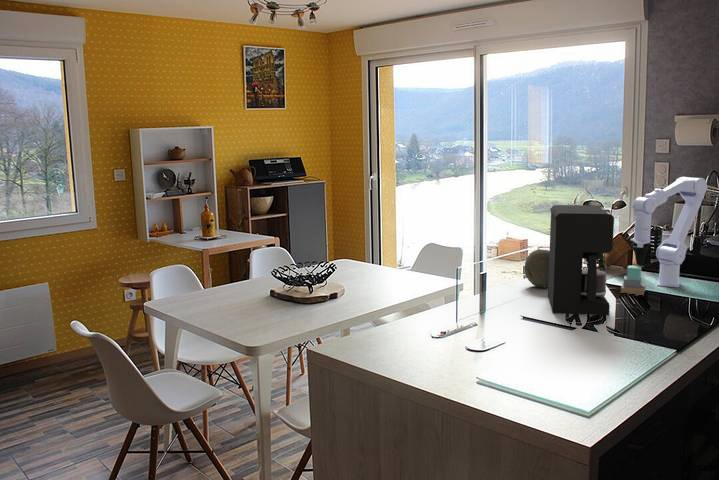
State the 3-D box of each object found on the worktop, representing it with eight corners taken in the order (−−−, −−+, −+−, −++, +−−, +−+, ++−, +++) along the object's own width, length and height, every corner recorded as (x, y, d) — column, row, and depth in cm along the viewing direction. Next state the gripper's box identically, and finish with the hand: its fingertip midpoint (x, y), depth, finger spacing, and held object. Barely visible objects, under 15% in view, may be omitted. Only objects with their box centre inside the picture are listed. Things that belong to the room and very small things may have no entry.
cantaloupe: (562, 291, 264) (564, 253, 262) (525, 290, 266) (526, 252, 264) (558, 283, 278) (559, 247, 275) (522, 282, 280) (523, 246, 278)
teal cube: (628, 276, 264) (628, 265, 263) (640, 277, 262) (641, 266, 261) (626, 279, 260) (627, 267, 259) (639, 280, 258) (640, 268, 257)
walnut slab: (622, 290, 267) (623, 282, 266) (644, 292, 263) (645, 284, 263) (620, 295, 260) (621, 287, 259) (643, 297, 256) (643, 289, 256)
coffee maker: (613, 319, 227) (618, 214, 221) (552, 316, 230) (556, 213, 225) (601, 298, 254) (605, 204, 248) (547, 296, 258) (550, 204, 252)
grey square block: (623, 283, 266) (624, 275, 265) (640, 284, 263) (640, 277, 263) (623, 286, 260) (623, 279, 260) (640, 288, 258) (640, 280, 257)
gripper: (633, 225, 271) (631, 258, 273) (629, 230, 258) (627, 265, 261) (652, 226, 268) (650, 260, 270) (649, 231, 255) (647, 267, 257)
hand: (640, 262), depth 265 cm, fingers open, 7 cm apart
